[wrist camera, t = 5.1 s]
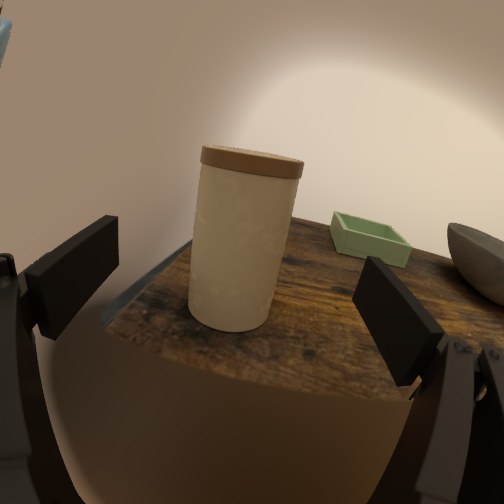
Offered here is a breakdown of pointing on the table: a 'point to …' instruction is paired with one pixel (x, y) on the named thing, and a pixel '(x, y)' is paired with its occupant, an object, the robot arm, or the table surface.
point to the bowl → (478, 260)
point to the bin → (368, 239)
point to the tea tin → (239, 235)
